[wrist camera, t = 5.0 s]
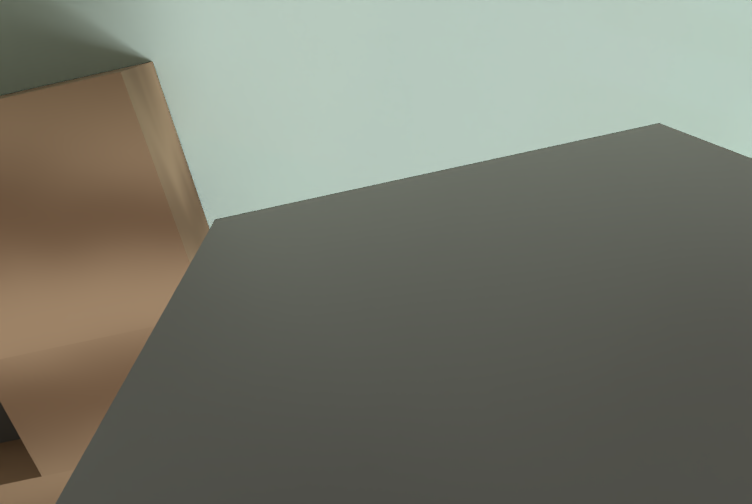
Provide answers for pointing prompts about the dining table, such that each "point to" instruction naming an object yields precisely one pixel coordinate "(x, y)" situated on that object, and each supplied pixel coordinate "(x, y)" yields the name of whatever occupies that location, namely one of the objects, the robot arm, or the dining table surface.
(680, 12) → the dining table surface
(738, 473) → the grey rectangular block
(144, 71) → the brown wooden flat slab
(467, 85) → the dining table surface
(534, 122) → the dining table surface
